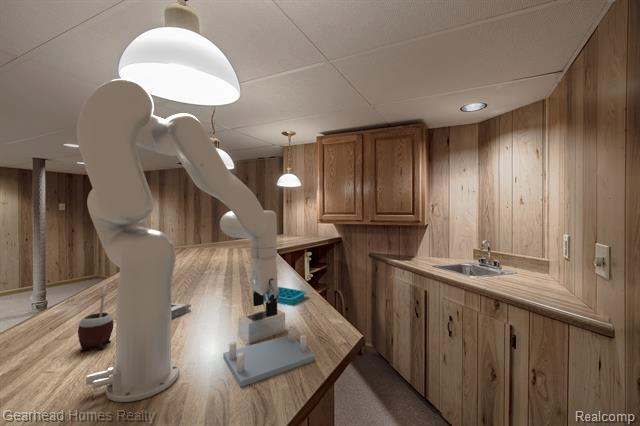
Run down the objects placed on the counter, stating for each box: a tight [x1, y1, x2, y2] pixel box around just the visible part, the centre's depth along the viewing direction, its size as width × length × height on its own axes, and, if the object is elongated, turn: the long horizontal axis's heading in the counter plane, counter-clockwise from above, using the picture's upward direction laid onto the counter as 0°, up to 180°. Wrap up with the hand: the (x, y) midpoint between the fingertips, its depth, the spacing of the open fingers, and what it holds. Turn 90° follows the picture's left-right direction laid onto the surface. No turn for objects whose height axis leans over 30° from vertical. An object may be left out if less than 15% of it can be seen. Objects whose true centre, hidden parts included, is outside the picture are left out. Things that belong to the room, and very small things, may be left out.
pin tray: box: [222, 325, 316, 388], centre depth 65 cm, size 18×13×5 cm
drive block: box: [237, 308, 286, 344], centre depth 78 cm, size 12×6×6 cm, turn 133°
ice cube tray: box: [264, 286, 307, 306], centre depth 111 cm, size 12×20×3 cm, turn 63°
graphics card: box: [171, 302, 192, 320], centre depth 95 cm, size 10×3×25 cm
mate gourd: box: [77, 283, 114, 354], centre depth 70 cm, size 8×8×15 cm
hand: (264, 310), depth 79 cm, fingers open, 9 cm apart
